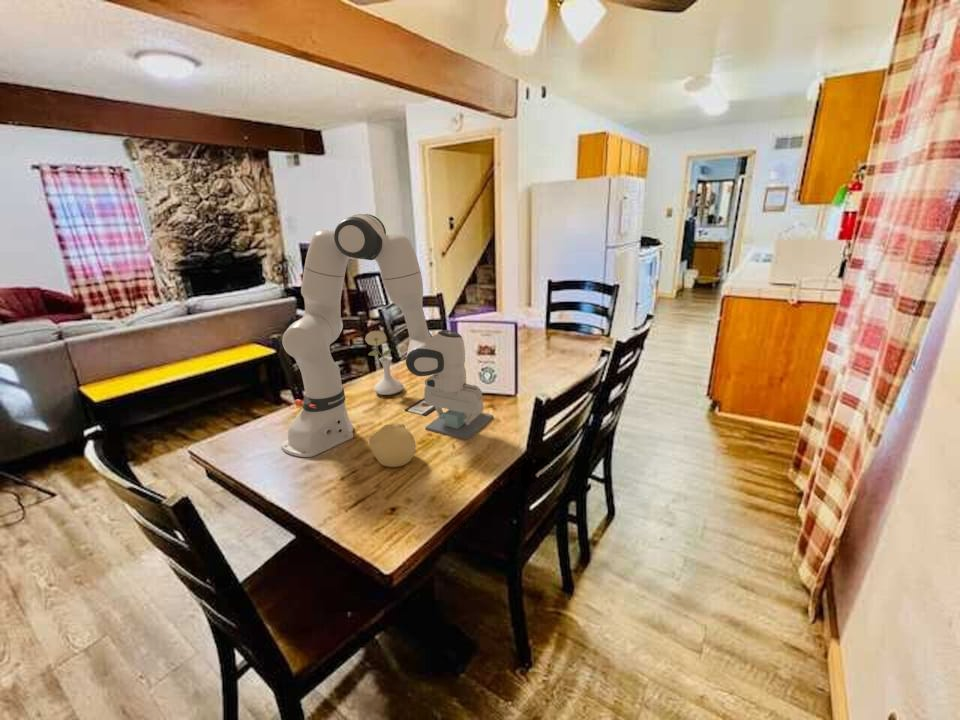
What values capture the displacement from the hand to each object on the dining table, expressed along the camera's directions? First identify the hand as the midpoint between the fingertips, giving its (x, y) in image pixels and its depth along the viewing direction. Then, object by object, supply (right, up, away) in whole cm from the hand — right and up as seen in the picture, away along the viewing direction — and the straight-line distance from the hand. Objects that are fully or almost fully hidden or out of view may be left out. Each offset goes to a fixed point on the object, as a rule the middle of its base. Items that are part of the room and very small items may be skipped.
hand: (454, 421), depth 142 cm
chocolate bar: (-10, +3, +19) cm, 22 cm away
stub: (0, -1, 0) cm, 1 cm away
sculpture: (-16, -9, -17) cm, 25 cm away
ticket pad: (+2, -1, +4) cm, 4 cm away
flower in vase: (-28, +7, +31) cm, 42 cm away
